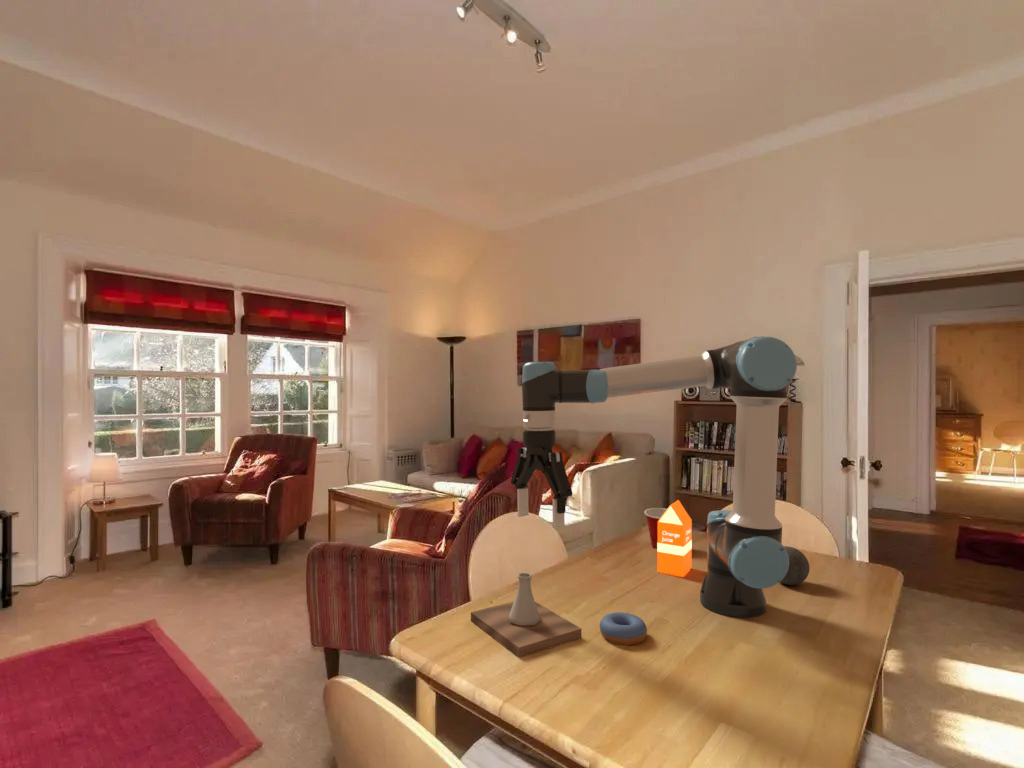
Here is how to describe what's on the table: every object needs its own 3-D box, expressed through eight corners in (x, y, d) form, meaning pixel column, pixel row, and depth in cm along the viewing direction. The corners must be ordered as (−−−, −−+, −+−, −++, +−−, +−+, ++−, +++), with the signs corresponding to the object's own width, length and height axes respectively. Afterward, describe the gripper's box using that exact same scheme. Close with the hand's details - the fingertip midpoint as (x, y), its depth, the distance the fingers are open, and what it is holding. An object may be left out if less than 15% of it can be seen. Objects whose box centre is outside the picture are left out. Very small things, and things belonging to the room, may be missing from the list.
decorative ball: (812, 592, 144) (812, 554, 144) (770, 587, 147) (770, 550, 147) (805, 579, 153) (805, 544, 153) (766, 575, 156) (766, 540, 156)
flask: (538, 628, 117) (538, 581, 117) (504, 625, 118) (505, 579, 118) (543, 614, 124) (543, 570, 124) (511, 612, 125) (512, 568, 125)
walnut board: (581, 638, 117) (581, 628, 117) (518, 657, 108) (518, 647, 108) (528, 606, 134) (528, 597, 134) (470, 620, 125) (470, 612, 125)
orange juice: (692, 568, 162) (692, 500, 162) (683, 577, 155) (684, 506, 155) (665, 563, 166) (665, 497, 166) (656, 572, 159) (656, 503, 159)
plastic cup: (641, 550, 180) (641, 513, 180) (646, 541, 190) (646, 506, 190) (675, 553, 176) (676, 516, 176) (679, 544, 186) (679, 509, 186)
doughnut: (590, 629, 121) (592, 609, 120) (627, 624, 125) (630, 604, 124) (615, 654, 112) (617, 632, 111) (655, 647, 116) (657, 626, 115)
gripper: (496, 426, 134) (497, 513, 134) (560, 433, 114) (561, 535, 114) (521, 425, 139) (522, 509, 139) (587, 431, 118) (588, 530, 118)
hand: (540, 521), depth 126 cm, fingers open, 13 cm apart
